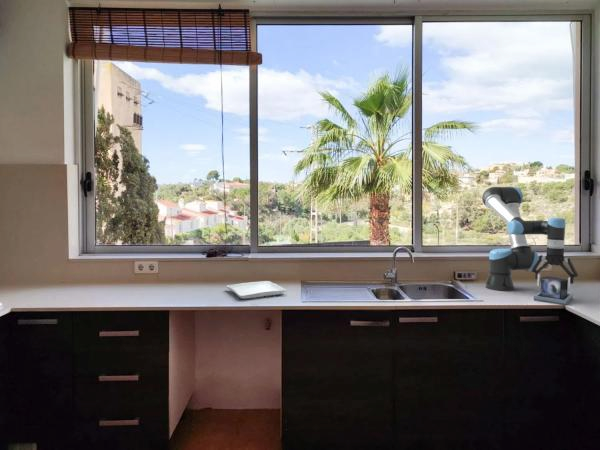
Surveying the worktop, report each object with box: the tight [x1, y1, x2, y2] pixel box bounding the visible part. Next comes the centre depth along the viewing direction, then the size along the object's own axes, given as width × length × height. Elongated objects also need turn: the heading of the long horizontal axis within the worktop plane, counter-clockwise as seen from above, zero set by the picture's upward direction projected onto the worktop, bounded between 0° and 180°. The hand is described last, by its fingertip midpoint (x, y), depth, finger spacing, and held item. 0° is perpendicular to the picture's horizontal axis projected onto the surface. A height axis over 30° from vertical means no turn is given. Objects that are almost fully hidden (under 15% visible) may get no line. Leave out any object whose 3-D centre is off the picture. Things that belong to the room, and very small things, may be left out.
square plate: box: [226, 280, 287, 300], centre depth 217 cm, size 27×27×4 cm
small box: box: [540, 275, 568, 300], centre depth 200 cm, size 11×6×10 cm, turn 24°
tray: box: [533, 290, 574, 306], centre depth 200 cm, size 14×18×2 cm
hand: (553, 287), depth 200 cm, fingers open, 13 cm apart
